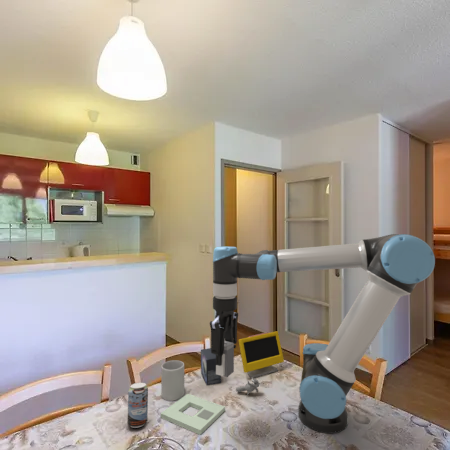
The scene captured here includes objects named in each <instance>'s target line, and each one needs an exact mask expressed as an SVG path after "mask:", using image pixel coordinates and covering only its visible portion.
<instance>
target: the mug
mask: <svg viewBox="0 0 450 450" xmlns="http://www.w3.org/2000/svg"><path fill="white" fill-rule="evenodd" d="M160 374H161V375H160V377H161V379H160V380H161V394H160V396H161V398H162V400H164V401H167V402H173V401H178V400H180V399H181V398H182V397H184V396H185V393H186V392H185V391H186V390H185V363H184V362H183V361H181V360H175V359H174V360H173V359H172V360H167V361H165V362H163V363H162V364H161V372H160Z"/></svg>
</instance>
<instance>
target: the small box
mask: <svg viewBox="0 0 450 450" xmlns="http://www.w3.org/2000/svg"><path fill="white" fill-rule="evenodd" d="M200 374H201V376H202V379H203V380H204V383H205V384H206V386H212V385H213V386H214V385H218V384H222V376H220V375H217V374H216V354H212V353H211V347H209V348H204V349H203V348H202V349H200Z"/></svg>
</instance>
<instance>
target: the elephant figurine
mask: <svg viewBox="0 0 450 450" xmlns="http://www.w3.org/2000/svg"><path fill="white" fill-rule="evenodd" d="M251 382H252V383H251ZM251 382H250V381H249V380H247V383H245V385H243V386H238V387H235V391H236V393H238V394H239V393H241V392H245V391H246V393H247V394H246V396H245V397H246V398H247V397H248V396H249V394H250V393H252V392H254V391H256V392H259V388H258V387H260V385H261V383H260V382H259V380H258V379H257V378H251Z"/></svg>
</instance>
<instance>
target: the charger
mask: <svg viewBox="0 0 450 450" xmlns="http://www.w3.org/2000/svg"><path fill="white" fill-rule="evenodd" d="M234 345H235V344H234V343H232V342H228V341H225V342H224V351H223V354H225V376H224V377H225V378H228V377H229V376H230V375H232V374H234V372H235V371H234V370H235V364H234V363H235V359H234V358H235V353H234V352H235V348H234Z"/></svg>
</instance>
